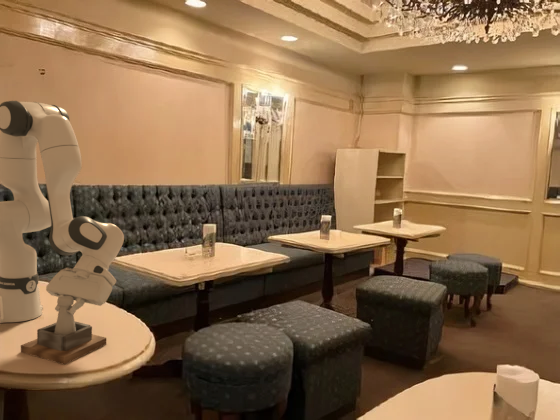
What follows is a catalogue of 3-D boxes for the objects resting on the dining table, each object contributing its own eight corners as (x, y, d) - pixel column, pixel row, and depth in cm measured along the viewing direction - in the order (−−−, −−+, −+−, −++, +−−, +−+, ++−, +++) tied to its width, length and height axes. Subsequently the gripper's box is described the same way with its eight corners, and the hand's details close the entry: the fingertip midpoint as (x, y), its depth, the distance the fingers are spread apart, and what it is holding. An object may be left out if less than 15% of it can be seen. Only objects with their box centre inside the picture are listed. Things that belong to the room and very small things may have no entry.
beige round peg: (68, 345, 138) (68, 300, 136) (49, 343, 139) (49, 298, 137) (80, 338, 144) (80, 295, 142) (62, 335, 145) (62, 293, 143)
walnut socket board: (20, 352, 137) (20, 331, 136) (65, 333, 152) (65, 315, 151) (64, 364, 131) (64, 343, 130) (106, 344, 146) (106, 324, 145)
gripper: (57, 261, 149) (30, 300, 141) (110, 270, 141) (85, 312, 134) (68, 272, 154) (43, 311, 146) (121, 282, 146) (96, 323, 138)
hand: (63, 312), depth 140 cm, fingers closed on beige round peg, 3 cm apart
